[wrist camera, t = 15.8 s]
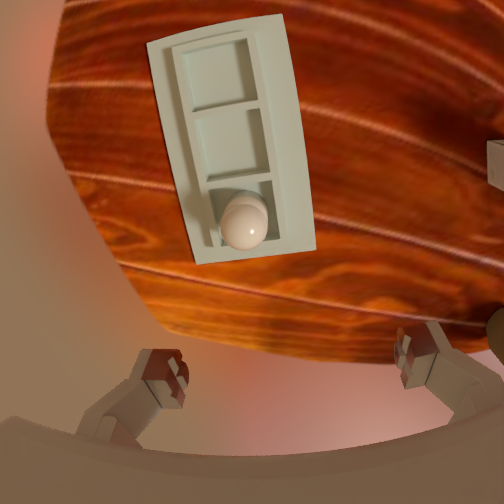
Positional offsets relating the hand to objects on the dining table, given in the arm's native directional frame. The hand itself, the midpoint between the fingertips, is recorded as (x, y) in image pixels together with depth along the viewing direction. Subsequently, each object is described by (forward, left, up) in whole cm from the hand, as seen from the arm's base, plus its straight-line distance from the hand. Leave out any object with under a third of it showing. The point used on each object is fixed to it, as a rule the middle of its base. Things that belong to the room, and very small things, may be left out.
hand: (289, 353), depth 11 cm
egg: (+2, -4, -24) cm, 24 cm away
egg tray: (-5, -4, -24) cm, 25 cm away
